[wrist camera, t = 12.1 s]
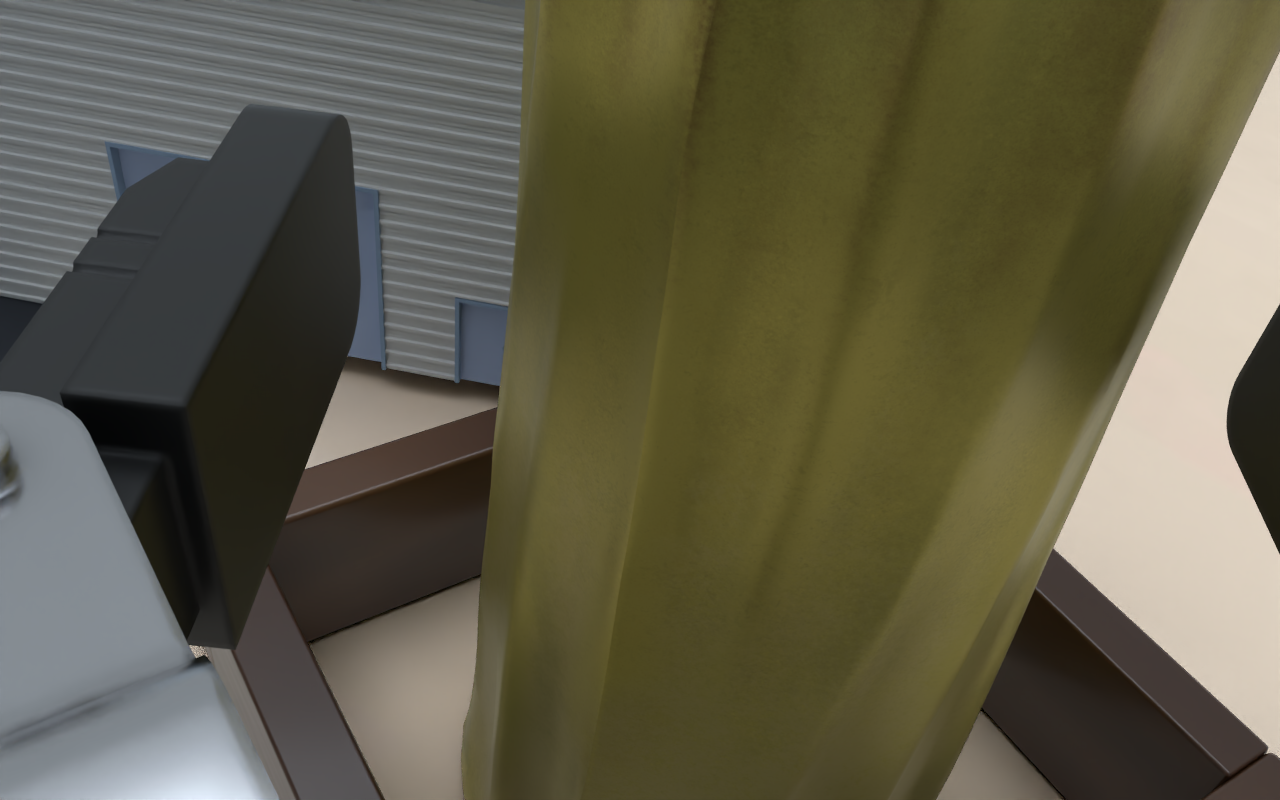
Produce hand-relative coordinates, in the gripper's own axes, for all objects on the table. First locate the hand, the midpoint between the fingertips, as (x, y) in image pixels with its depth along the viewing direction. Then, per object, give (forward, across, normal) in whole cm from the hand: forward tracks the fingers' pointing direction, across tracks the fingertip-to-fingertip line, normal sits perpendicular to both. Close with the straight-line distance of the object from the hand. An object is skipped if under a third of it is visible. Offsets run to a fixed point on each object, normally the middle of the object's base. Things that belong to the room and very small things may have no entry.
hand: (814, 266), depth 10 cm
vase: (0, 0, +8) cm, 9 cm away
